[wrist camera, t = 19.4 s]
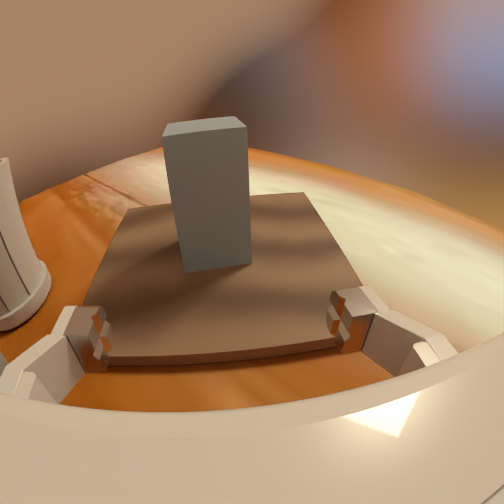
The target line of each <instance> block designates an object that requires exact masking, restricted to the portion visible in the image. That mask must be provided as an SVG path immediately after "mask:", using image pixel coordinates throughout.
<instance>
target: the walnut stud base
mask: <svg viewBox="0 0 504 504" xmlns="http://www.w3.org/2000/svg"><path fill="white" fill-rule="evenodd" d="M250 221H251V246H252V264H245V265H238V266H232V267H225V268H218V269H211V270H204V271H197V272H190V273H185V270H184V265H183V260H182V255H181V250H180V245H179V240H178V235H177V230H176V224H175V219H174V213H173V208H172V203H170V204H162V205H154V206H146V207H138V208H131V209H128V210H127V212H126V214H125V216H124V218H123V220H122V222H121V224H120V225H119V227H118V229H117V231H116V233H115V235H114V237H113V239H112V241H111V243H110V245H109V247H108V249H107V251H106V253H105V255H104V258H103V260H102V262H101V264H100V266H99V268H98V270H97V273H96V275H95V277H94V279H93V282H92V284H91V286H90V289H89V291H88V293H87V296H86V298H85V301H84V303H83V306H102V307H104V309H105V312H106V314H107V316H106V319H105V321H107V322H108V323H109V324H110V325H111V328H112V332H113V346H112V350H111V351H109V352H108V353H107V355H108V357H109V362H108V366H162V365H187V364H204V363H218V362H229V361H240V360H250V359H258V358H267V357H274V356H282V355H289V354H296V353H302V352H308V351H314V350H320V349H326V348H331V347H337V346H336V344H335V338H336V337H335V336H334V335H332V334H330V332H329V330H328V327H327V323H326V314H327V309H328V308H329V307H330V306H331V305H332V304H331V302H330V300H329V299H330V294H331V292H332V291H333V290H341V289H349V288H357V287H360V286H363V285H362V283H361V281H360V279H359V278H358V276H357V274H356V273H355V271H354V269H353V268H352V266H351V264H350V263H349V261H348V260H347V258H346V256H345V255H344V253H343V252H342V250H341V248H340V247H339V245H338V244H337V242H336V240H335V239H334V237H333V236H332V234H331V233H330V231H329V229H328V228H327V226H326V225H325V223H324V222H323V220H322V219H321V217H320V216H319V214H318V213H317V211H316V210H315V208H314V207H313V205H312V204H311V202H310V201H309V199H308V198H307V196H306V195H305V193H304V192H301V193H283V194H268V195H254V196H250Z"/></svg>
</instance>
